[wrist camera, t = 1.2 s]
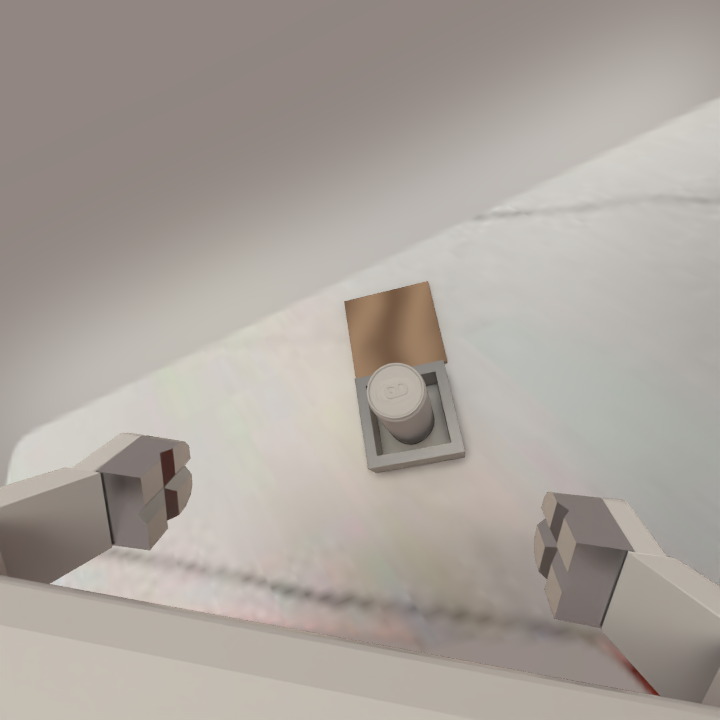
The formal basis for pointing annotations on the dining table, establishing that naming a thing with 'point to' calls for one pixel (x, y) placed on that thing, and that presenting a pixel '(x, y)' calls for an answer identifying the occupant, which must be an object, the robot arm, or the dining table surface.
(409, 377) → the beverage can
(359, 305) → the coaster
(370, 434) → the can holder
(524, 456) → the dining table surface
